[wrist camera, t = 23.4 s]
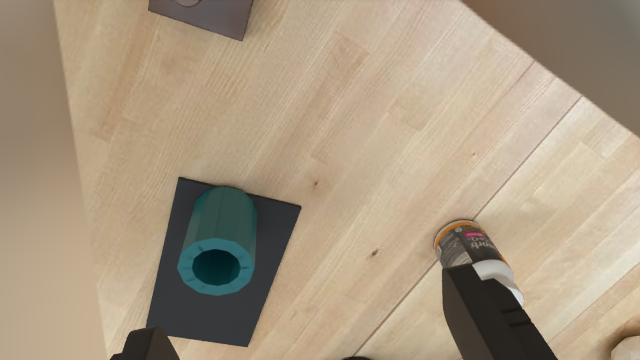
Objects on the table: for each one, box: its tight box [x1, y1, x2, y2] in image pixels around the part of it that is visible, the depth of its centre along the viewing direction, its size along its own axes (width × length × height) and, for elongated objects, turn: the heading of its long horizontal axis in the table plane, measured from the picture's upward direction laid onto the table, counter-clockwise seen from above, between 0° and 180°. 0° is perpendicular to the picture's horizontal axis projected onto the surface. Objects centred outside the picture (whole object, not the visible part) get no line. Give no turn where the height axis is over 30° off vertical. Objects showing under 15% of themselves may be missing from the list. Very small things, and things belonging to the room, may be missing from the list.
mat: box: [146, 177, 301, 347], centre depth 45 cm, size 12×21×1 cm, turn 161°
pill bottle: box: [434, 220, 523, 306], centre depth 42 cm, size 6×6×10 cm
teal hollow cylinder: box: [177, 187, 257, 296], centre depth 38 cm, size 6×6×8 cm
